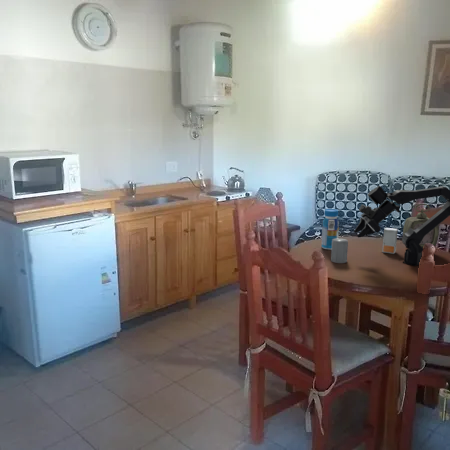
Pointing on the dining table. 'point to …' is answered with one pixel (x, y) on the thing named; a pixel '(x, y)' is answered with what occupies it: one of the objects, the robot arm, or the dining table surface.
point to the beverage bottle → (329, 228)
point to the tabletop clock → (417, 222)
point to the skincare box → (389, 240)
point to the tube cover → (339, 250)
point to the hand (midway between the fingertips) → (356, 234)
